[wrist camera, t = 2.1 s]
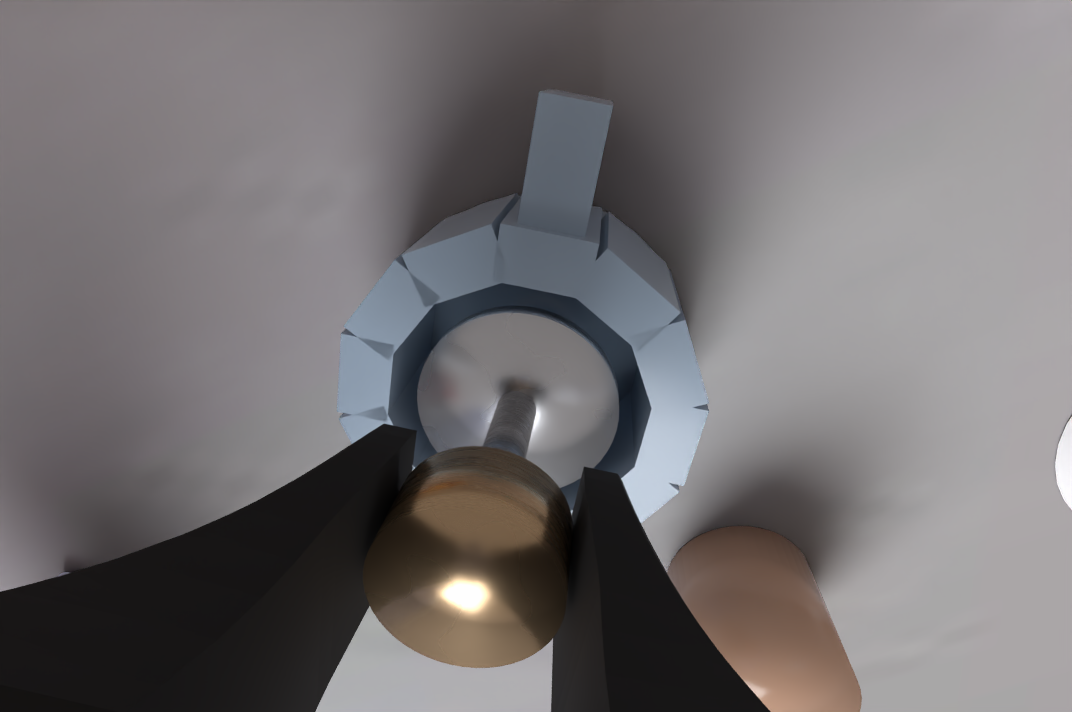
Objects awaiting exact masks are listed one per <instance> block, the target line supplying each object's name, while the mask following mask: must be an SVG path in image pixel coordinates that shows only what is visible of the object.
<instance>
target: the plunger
mask: <svg viewBox="0 0 1072 712" xmlns="http://www.w3.org/2000/svg"><path fill="white" fill-rule="evenodd" d="M417 403H418V412H419V416H420V420H421V423H422V426H423V428H424V431H425V433H426V435H427V437H428V439H429V441H430V443H431V444H432V446H433V447H434V448H435V450H436V451H437V452H438V453H437V454H435V455H433V456H431V457H429V458H427V459H426V460H424V461H423V462H421V463H420V464H419V465H418V466H417V467H415V468H414V469H413V470H412V472H411V473H410V474H409V475H408V477H407V478H406V480H405V481H404V483H403V485H402V487H401V489H400V491H399V493H398V495H397V497H396V498H395V500H394V502H393V504H392V506H391V508H390V510H389V512H388V514H387V516H386V518H385V520H384V522H383V524H382V526H381V527H380V529H379V531H378V533H377V535H376V537H375V539H374V541H373V543H372V545H371V547H370V549H369V551H368V553H367V556H366V559H365V562H364V568H363V584H364V590H365V594H366V597H367V600H368V602H369V605H370V607H371V609H372V611H373V612H374V614H375V615H376V617H377V618H378V620H379V621H380V622H381V623H382V625H383V626H384V627H385V628H386V629H387V630H388V631H389V632H390V633H391V634H392V635H393V636H394V637H395V638H397V639H398V640H399V641H400V642H402V643H403V644H404V645H406V646H408V647H409V648H411V649H413V650H414V651H416V652H418V653H420V654H422V655H424V656H426V657H429V658H431V659H434V660H437V661H440V662H443V663H447V664H451V665H456V666H462V667H472V668H490V667H498V666H504V665H508V664H512V663H515V662H518V661H521V660H523V659H526V658H528V657H530V656H532V655H533V654H535V653H536V652H538V651H539V650H541V649H542V648H543V647H544V646H546V645H547V644H548V643H549V642H550V641H551V640H552V638H553V637H554V636H555V635H556V633H557V631H558V630H559V628H560V626H561V624H562V621H563V619H564V616H565V610H566V604H567V592H568V581H569V569H570V558H571V546H572V532H573V521H572V515H571V511H570V508H569V504H568V502H567V500H566V498H565V496H564V494H563V492H562V491H561V489H560V488H562V487H564V486H566V485H569V484H571V483H573V482H575V481H577V480H578V479H580V478H581V476H582V472H583V468H584V467H589V468H594V467H595V466H596V465H597V464H598V463H599V462H600V461H601V460H602V458H603V457H604V456H605V454H606V453H607V451H608V449H609V448H610V446H611V444H612V442H613V439H614V436H615V434H616V431H617V426H618V420H619V392H618V384H617V380H616V376H615V373H614V370H613V368H612V366H611V363H610V361H609V359H608V358H607V356H606V354H605V353H604V351H603V350H602V348H601V347H600V346H599V345H598V343H597V342H596V341H595V340H594V339H593V338H592V337H591V336H590V335H589V334H588V333H587V332H586V331H585V330H583V329H582V328H581V327H579V326H578V325H576V324H575V323H573V322H572V321H570V320H568V319H566V318H565V317H563V316H560V315H558V314H555V313H553V312H551V311H547V310H543V309H540V308H535V307H528V306H501V307H494V308H490V309H486V310H482V311H480V312H477V313H475V314H472V315H470V316H468V317H466V318H465V319H463V320H461V321H460V322H458V323H457V324H456V325H454V326H453V327H452V328H450V329H449V330H448V331H447V332H446V333H445V334H444V335H443V336H442V338H441V339H440V340H439V342H438V343H437V344H436V346H435V347H434V349H433V350H432V352H431V353H430V355H429V356H428V358H427V360H426V362H425V364H424V366H423V369H422V372H421V375H420V378H419V383H418V390H417Z"/></svg>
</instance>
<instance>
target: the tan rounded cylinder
mask: <svg viewBox="0 0 1072 712" xmlns="http://www.w3.org/2000/svg"><path fill="white" fill-rule="evenodd" d="M667 574H668V576H669V578H670V579H671V581H672V583H673V584H674V586H675V587H676V589H677V591H678V592H679V594H680V596H681V597H682V599H683V600H684V602H685V604H686V605H687V607H688V608H689V610H690V611H691V613H692V614H693V616H694V617H695V619H696V620H697V622H698V623H699V625H700V626H701V627H702V629H703V630H704V631H705V633H706V634H707V635H708V637H709V638H710V639H711V641H712V642H713V644H714V645H715V646H716V648H717V649H718V650H719V652H720V653H721V654H722V655H723V657H724V658H725V659H726V660H727V662H728V663H729V664H730V665H731V666H732V668H733V669H734V670H735V671H736V672H737V674H738V675H739V676H740V677H741V678H742V679H743V681H744V682H745V683H746V684H747V685H748V686H749V688H750V689H751V690H752V691H753V692H754V693H755V694H756V696H757V697H758V698H759V699H760V700H761V701H762V703H763V704H764V705H765V706H766V707H767V708H768V709H769V710H770V711H771V712H860V708H861V699H862V697H861V690H860V687H859V684H858V681H857V678H856V676H855V674H854V671H853V669H852V667H851V664H850V662H849V659H848V657H847V655H846V652H845V650H844V647H843V645H842V643H841V640H840V638H839V636H838V633H837V631H836V628H835V626H834V624H833V621H832V619H831V616H830V614H829V612H828V609H827V607H826V605H825V602H824V600H823V597H822V595H821V593H820V590H819V588H818V585H817V583H816V581H815V578H814V576H813V574H812V571H811V569H810V566H809V564H808V562H807V560H806V558H805V556H804V555H803V553H802V552H801V551H800V550H799V548H797V547H796V546H795V545H794V544H793V543H792V542H791V541H789V540H788V539H786V538H785V537H783V536H781V535H779V534H777V533H775V532H772V531H769V530H766V529H762V528H757V527H751V526H730V527H723V528H718V529H715V530H711V531H708V532H706V533H703V534H701V535H699V536H697V537H696V538H694V539H692V540H691V541H689V542H688V543H687V544H686V545H684V546H683V547H682V548H681V549H680V550H679V551H678V553H677V554H676V555H675V557H674V558H673V560H672V561H671V564H670V566H669V568H668V572H667Z"/></svg>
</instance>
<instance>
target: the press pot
mask: <svg viewBox="0 0 1072 712" xmlns="http://www.w3.org/2000/svg"><path fill="white" fill-rule="evenodd" d="M612 109H613V101H611V100H606V99H601V98H596V97H591V96H586V95H581V94H576V93H571V92H566V91H561V90H556V89H550V90H544V91H539V95H538V101H537V107H536V113H535V119H534V125H533V131H532V137H531V143H530V149H529V155H528V161H527V167H526V173H525V179H524V185H523V191H522V195H518V193H515V194H512V195H509V196H506V197H502V198H499V199H495V200H491V201H488V202H484V203H482V204H480V205H477V206H475V207H473V208H470V209H468V210H466V211H464V212H461V213H458V214H455V215H452V216H450V217H447V218H445V219H444V220H443V221H442V222H440V223H438V224H437V225H436V226H435V227H434V228H432V229H431V230H430V231H429V232H427V233H426V234H425V235H424V236H423V237H421V238H420V239H419V240H418V241H417V242H415V243H414V244H413V245H412V246H411V247H409V248H408V249H407V250H406V251H405V252H403V253H402V254H401V255H400V256H399V257H397V258H396V259H395V260H394V261H393V263H392V264H391V265H390V267H389V268H388V269H387V270H386V272H385V273H384V274H383V276H382V277H381V278H380V280H379V281H378V282H377V284H376V285H375V286H374V287H373V289H372V290H371V291H370V293H369V294H368V295H367V297H366V298H365V299H364V300H363V302H362V303H361V304H360V306H359V307H358V308H357V310H356V311H355V312H354V314H353V315H352V316H351V317H350V319H349V320H348V321H347V323H346V324H345V325H344V327H345V328H346V329H345V330H344V331H343V332H342V333H341V344H340V363H339V382H338V401H337V412H341V413H343V414H342V415H341V416H340V418H339V420H340V422H341V424H342V426H343V428H344V430H345V432H346V434H347V436H348V437H349V439H350V441H351V443H352V444H353V443H354V442H356V441H357V440H359V439H360V438H362V437H363V436H365V435H366V434H368V433H369V432H371V431H373V430H374V429H376V428H377V427H379V426H381V425H382V424H389V425H393V426H398V427H403V428H407V429H412V430H417V434H416V443H415V451H414V460H413V469H414V468H415V467H417V466H418V465H419V464H420V463H421V462H423V461H424V460H426V459H427V458H429V457H431V456H433V455H435V454H437V453H438V452H437V451H436V450H435V448H434V447H433V446H432V444H431V443H430V441H429V439H428V437H427V435H426V433H425V431H424V428H423V426H422V423H421V420H420V416H419V412H418V403H417V390H418V383H419V378H420V375H421V372H422V369H423V366H424V364H425V362H426V360H427V358H428V356H429V355H430V353H431V352H432V350H433V349H434V347H435V346H436V344H437V343H438V342H439V340H440V339H441V338H442V336H443V335H444V334H445V333H446V332H447V331H448V330H449V329H450V328H452V327H453V326H454V325H456V324H457V323H458V322H460V321H461V320H463V319H465V318H466V317H468V316H470V315H472V314H475V313H477V312H480V311H482V310H486V309H490V308H494V307H501V306H528V307H535V308H540V309H543V310H547V311H551V312H553V313H555V314H558V315H560V316H563V317H565V318H566V319H568V320H570V321H572V322H573V323H575V324H576V325H578V326H579V327H581V328H582V329H583V330H585V331H586V332H587V333H588V334H589V335H590V336H591V337H592V338H593V339H594V340H595V341H596V342H597V343H598V345H599V346H600V347H601V348H602V350H603V351H604V353H605V354H606V356H607V358H608V359H609V361H610V363H611V366H612V368H613V370H614V373H615V376H616V380H617V384H618V392H619V420H618V426H617V431H616V434H615V436H614V439H613V442H612V444H611V446H610V448H609V449H608V451H607V453H606V454H605V456H604V457H603V458H602V460H601V461H600V462H599V463H598V464H597V465H596V466H595V467H594V469H598V470H603V471H608V472H612V473H617V474H618V475H619V476H620V478H621V479H622V481H623V484H624V486H625V489H626V491H627V494H628V496H629V499H630V501H631V503H632V505H633V508H634V510H635V512H636V514H637V516H638V519H639V521H640V523H642V522H643V521H644V520H646V519H647V518H648V517H649V516H651V515H652V514H653V513H654V512H655V511H657V510H658V509H659V508H660V507H662V506H663V505H664V504H665V503H666V502H668V501H669V500H670V499H671V498H673V497H674V496H675V495H676V494H678V493H679V486H678V485H682V486H684V484H685V481H686V478H687V475H688V472H689V469H690V466H691V463H692V460H693V457H694V454H695V451H696V448H697V445H698V442H699V439H700V436H701V433H702V430H703V427H704V424H705V422H706V419H707V416H708V413H709V409H708V406H707V404H709V401H708V397H707V394H706V390H705V387H704V383H703V380H702V376H701V373H700V369H699V366H698V362H697V359H696V355H695V352H694V348H693V345H692V341H691V338H690V334H689V331H688V327H687V324H686V320H685V317H684V314H683V310H682V307H681V304H680V300H679V297H678V294H677V290H676V287H675V284H674V281H673V277H672V274H671V271H670V269H668V267H667V264H666V262H665V261H664V260H662V259H661V258H660V257H659V256H658V255H657V254H656V253H655V252H654V251H653V250H652V249H651V247H650V246H649V245H648V244H647V243H646V242H645V241H644V240H643V239H642V238H641V237H640V236H639V235H638V234H637V233H636V232H634V231H633V230H632V229H631V228H629V227H628V226H627V225H626V224H624V223H623V222H622V221H620V220H618V219H617V218H616V217H615V216H614V215H613V214H612V213H610V212H608V213H607V212H605V211H603V210H602V208H601V207H596V206H592V203H593V198H594V193H595V189H596V184H597V179H598V175H599V170H600V165H601V160H602V156H603V151H604V146H605V142H606V137H607V132H608V128H609V123H610V118H611V114H612ZM413 469H412V470H413ZM580 480H581V478H580V479H578V480H577V481H575V482H573V483H571V484H569V485H566V486H564V487H562V488H560V489H561V491H562V492H563V494H564V496H565V498H566V500H567V502H568V504H569V508H570V511H571V515H572V512H573V508H574V504H575V500H576V496H577V492H578V488H579V484H580Z"/></svg>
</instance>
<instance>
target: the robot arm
mask: <svg viewBox="0 0 1072 712" xmlns="http://www.w3.org/2000/svg"><path fill="white" fill-rule="evenodd" d="M416 434H417V430H412V429H407V428H403V427H398V426H393V425H389V424H382V425H381V426H379V427H377V428H376V429H374V430H373V431H371V432H369V433H368V434H366V435H365V436H363V437H362V438H360V439H359V440H357V441H356V442H354V443H353V444H351V445H350V446H348V447H347V448H345V449H344V450H342V451H340V452H339V453H337V454H336V455H334V456H333V457H331V458H330V459H328V460H326V461H325V462H323V463H322V464H320V465H318V466H317V467H315V468H314V469H312V470H310V471H309V472H307V473H305V474H304V475H302V476H301V477H299V478H297V479H296V480H294V481H292V482H290V483H288V484H287V485H285V486H283V487H281V488H279V489H277V490H276V491H274V492H272V493H270V494H268V495H267V496H265V497H263V498H261V499H259V500H258V501H256V502H254V503H252V504H250V505H248V506H246V507H244V508H242V509H239V510H237V511H235V512H233V513H231V514H229V515H227V516H225V517H222V518H220V519H218V520H216V521H213V522H211V523H209V524H206V525H204V526H202V527H200V528H197V529H195V530H193V531H190V532H188V533H185V534H183V535H180V536H177V537H175V538H172V539H169V540H167V541H164V542H161V543H158V544H156V545H153V546H150V547H147V548H145V549H142V550H139V551H137V552H134V553H131V554H128V555H126V556H123V557H120V558H117V559H114V560H111V561H108V562H105V563H102V564H98V565H95V566H92V567H89V568H85V569H82V570H79V571H76V572H72V573H70V572H63V573H60V574H59V575H58V576H57V577H55V578H51V579H48V580H44V581H40V582H37V583H33V584H29V585H26V586H22V587H18V588H14V589H10V590H6V591H2V592H0V712H315V711H316V709H317V707H318V704H319V702H320V700H321V698H322V696H323V694H324V692H325V690H326V688H327V686H328V683H329V681H330V679H331V678H332V676H333V674H334V672H335V670H336V668H337V666H338V664H339V662H340V661H341V659H342V657H343V655H344V653H345V651H346V649H347V647H348V645H349V644H350V642H351V640H352V638H353V636H354V634H355V632H356V630H357V628H358V626H359V625H360V623H361V621H362V619H363V617H364V615H365V613H366V611H367V609H368V608H369V606H370V605H369V602H368V600H367V597H366V594H365V590H364V584H363V568H364V562H365V559H366V556H367V553H368V551H369V549H370V547H371V545H372V543H373V541H374V539H375V537H376V535H377V533H378V531H379V529H380V527H381V526H382V524H383V522H384V520H385V518H386V516H387V514H388V512H389V510H390V508H391V506H392V504H393V502H394V500H395V498H396V497H397V495H398V493H399V491H400V489H401V487H402V485H403V483H404V481H405V480H406V478H407V477H408V475H409V474H410V473H411V472H412V469H413V460H414V451H415V443H416ZM572 521H573V532H572V546H571V558H570V569H569V581H568V592H567V604H566V610H565V616H564V619H563V621H562V624H561V626H560V628H559V630H558V631H557V633H556V635H555V636H554V637H553V666H552V703H551V712H771V711H770V710H769V709H768V708H767V707H766V706H765V705H764V704H763V703H762V701H761V700H760V699H759V698H758V697H757V696H756V694H755V693H754V692H753V691H752V690H751V689H750V688H749V686H748V685H747V684H746V683H745V682H744V681H743V679H742V678H741V677H740V676H739V675H738V674H737V672H736V671H735V670H734V669H733V668H732V666H731V665H730V664H729V663H728V662H727V660H726V659H725V658H724V657H723V655H722V654H721V653H720V652H719V650H718V649H717V648H716V646H715V645H714V644H713V642H712V641H711V639H710V638H709V637H708V635H707V634H706V633H705V631H704V630H703V629H702V627H701V626H700V625H699V623H698V622H697V620H696V619H695V617H694V616H693V614H692V613H691V611H690V610H689V608H688V607H687V605H686V604H685V602H684V600H683V599H682V597H681V596H680V594H679V592H678V591H677V589H676V587H675V586H674V584H673V583H672V581H671V579H670V578H669V576H668V574H667V572H666V571H665V569H664V567H663V565H662V564H661V562H660V560H659V558H658V556H657V554H656V552H655V550H654V549H653V547H652V545H651V543H650V541H649V539H648V537H647V535H646V533H645V531H644V529H643V527H642V525H641V523H640V521H639V519H638V516H637V514H636V512H635V510H634V508H633V505H632V503H631V501H630V499H629V496H628V494H627V491H626V489H625V486H624V484H623V481H622V479H621V478H620V476H619V475H618V474H617V473H612V472H608V471H603V470H598V469H594V468H589V467H584V468H583V472H582V476H581V480H580V484H579V488H578V492H577V496H576V500H575V504H574V508H573V512H572Z"/></svg>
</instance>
